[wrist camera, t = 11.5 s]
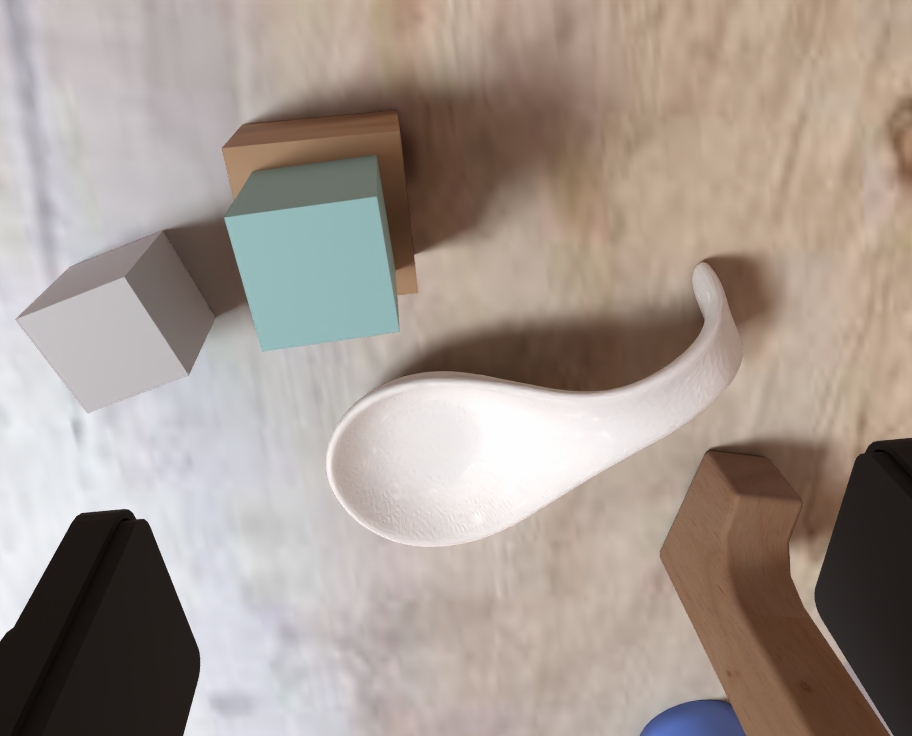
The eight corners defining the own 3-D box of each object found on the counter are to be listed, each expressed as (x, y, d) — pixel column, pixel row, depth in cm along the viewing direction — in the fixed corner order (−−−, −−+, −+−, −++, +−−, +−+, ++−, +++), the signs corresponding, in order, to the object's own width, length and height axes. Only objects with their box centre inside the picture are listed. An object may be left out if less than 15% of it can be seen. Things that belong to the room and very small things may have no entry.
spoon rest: (396, 535, 45) (400, 626, 39) (288, 404, 39) (272, 485, 33) (744, 366, 41) (809, 436, 35) (679, 193, 36) (743, 241, 29)
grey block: (70, 266, 34) (14, 319, 29) (163, 229, 34) (124, 276, 28) (128, 350, 37) (87, 413, 31) (215, 317, 36) (188, 375, 31)
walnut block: (242, 124, 32) (221, 148, 27) (397, 109, 32) (399, 130, 28) (274, 268, 35) (260, 310, 31) (413, 253, 36) (418, 292, 31)
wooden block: (704, 447, 43) (888, 714, 28) (769, 455, 44) (983, 718, 29) (655, 554, 48) (792, 838, 32) (715, 559, 48) (877, 839, 33)
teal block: (252, 171, 28) (223, 217, 23) (376, 154, 28) (376, 196, 23) (281, 286, 30) (262, 351, 25) (395, 270, 31) (399, 331, 25)
